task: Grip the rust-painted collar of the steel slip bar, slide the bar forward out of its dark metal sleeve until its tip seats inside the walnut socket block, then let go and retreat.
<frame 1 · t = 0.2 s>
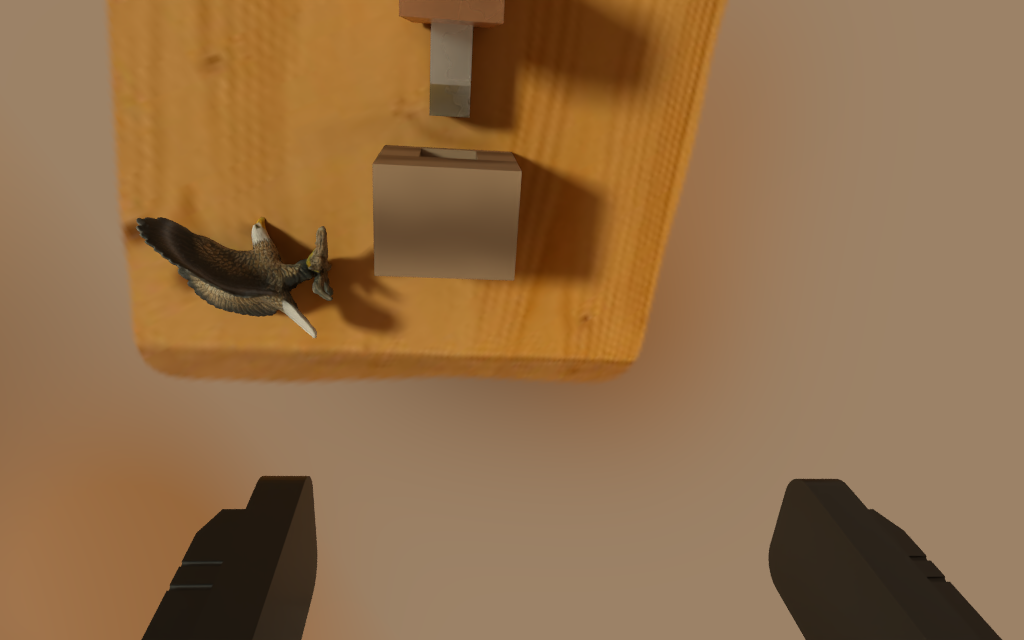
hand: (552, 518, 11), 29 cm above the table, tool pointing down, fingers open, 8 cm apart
socket block: (447, 197, 37), on the table
eagle figurine: (260, 252, 38), on the table
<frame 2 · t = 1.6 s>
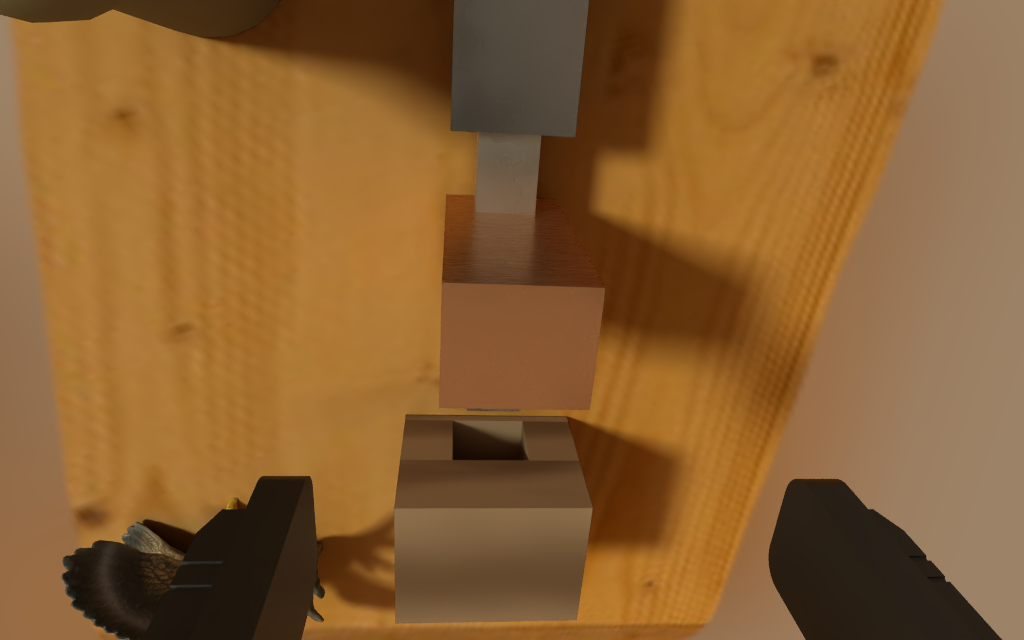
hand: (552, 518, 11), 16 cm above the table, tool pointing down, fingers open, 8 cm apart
socket block: (484, 467, 30), on the table
eagle figurine: (233, 532, 30), on the table
slip bar: (513, 191, 19), point 5 cm above the table, slide at 0.0 cm
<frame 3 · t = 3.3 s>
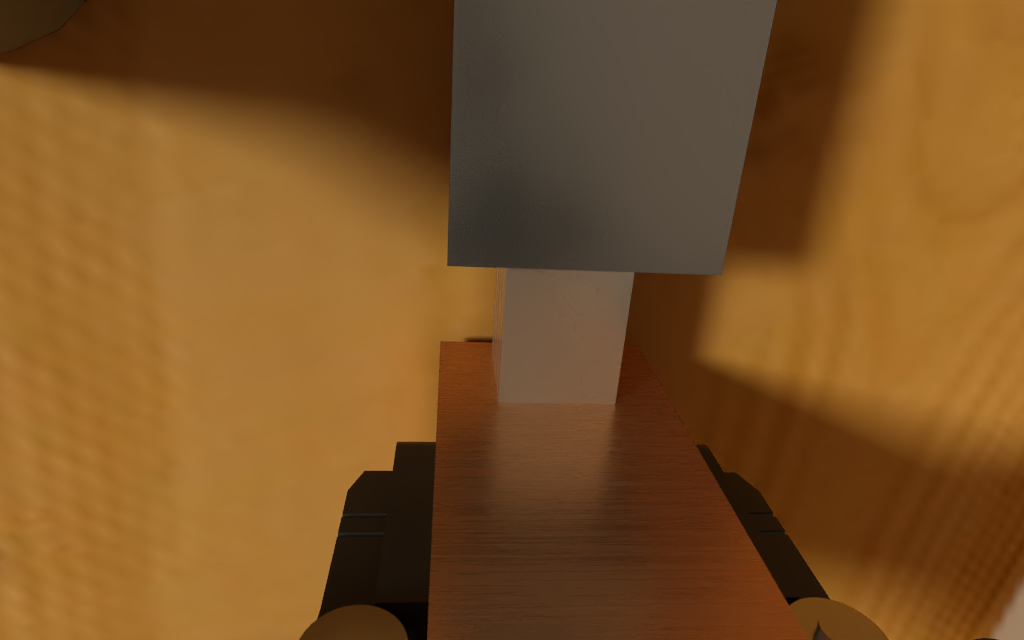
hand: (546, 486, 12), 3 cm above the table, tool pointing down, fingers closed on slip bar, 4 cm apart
slip bar: (590, 407, 9), point 5 cm above the table, slide at 0.0 cm, touching gripper
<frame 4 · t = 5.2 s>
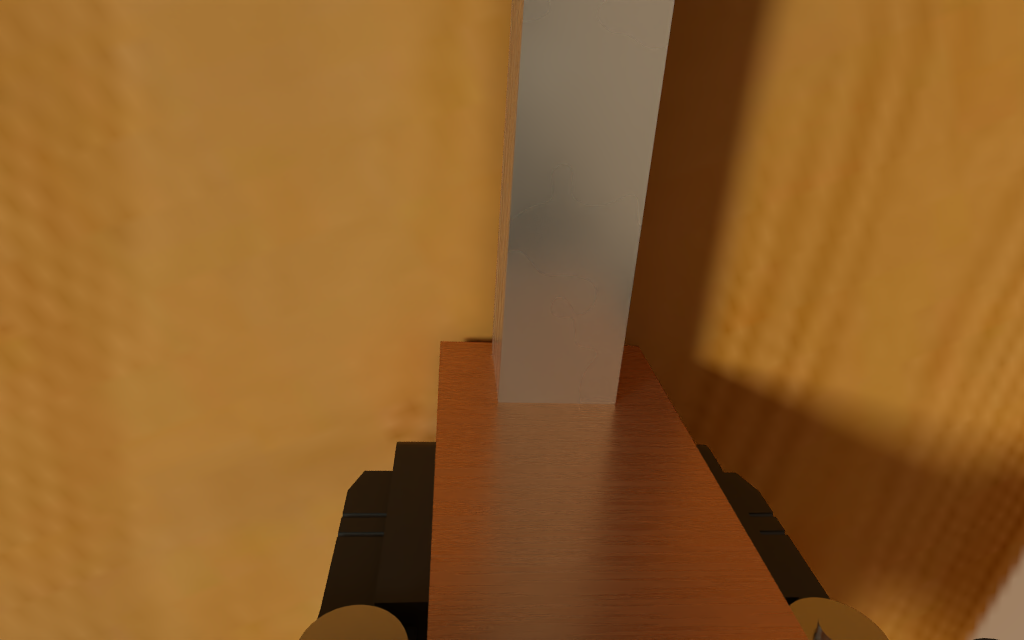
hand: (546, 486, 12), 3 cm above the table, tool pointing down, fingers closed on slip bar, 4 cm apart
slip bar: (590, 407, 9), point 5 cm above the table, slide at 5.5 cm, touching gripper
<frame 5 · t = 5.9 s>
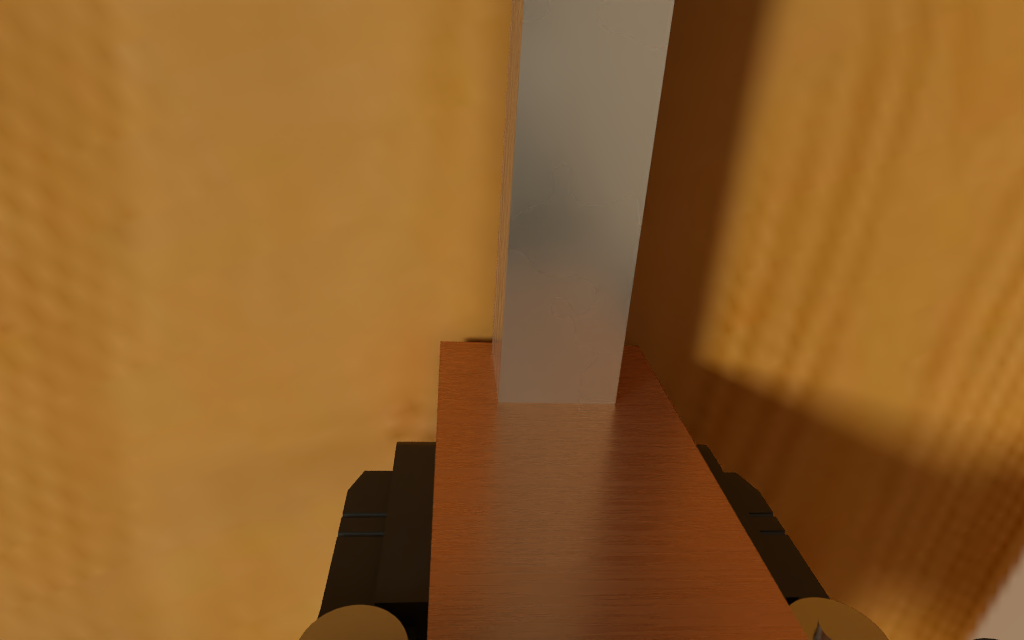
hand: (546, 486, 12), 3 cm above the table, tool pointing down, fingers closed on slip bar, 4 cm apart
slip bar: (590, 408, 9), point 5 cm above the table, slide at 5.5 cm, touching gripper
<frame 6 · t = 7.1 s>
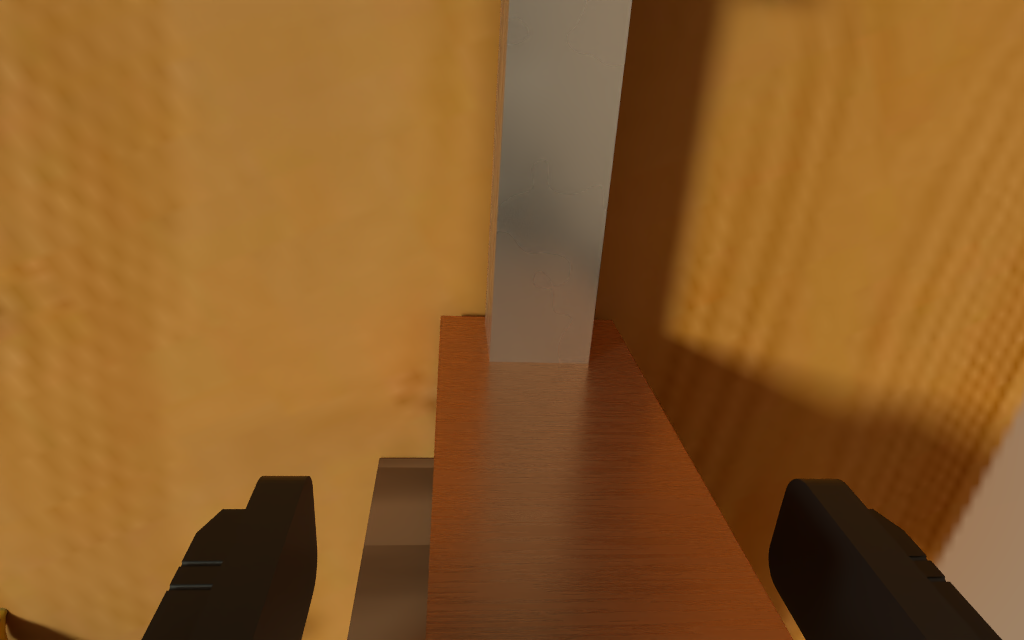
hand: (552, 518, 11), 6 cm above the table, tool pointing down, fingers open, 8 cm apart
socket block: (507, 541, 18), on the table
slip bar: (561, 354, 11), point 5 cm above the table, slide at 5.5 cm
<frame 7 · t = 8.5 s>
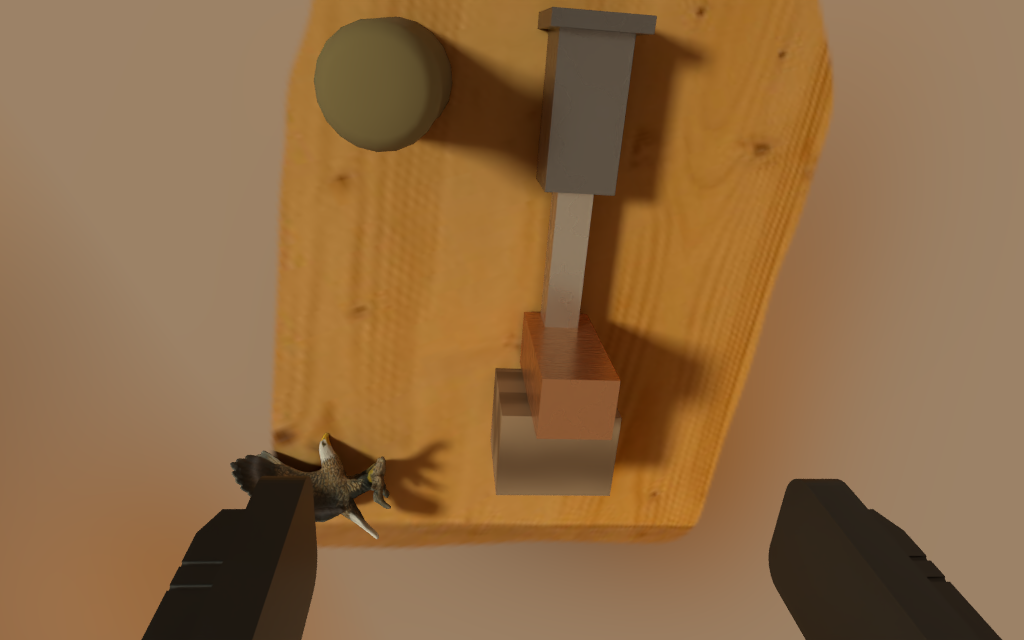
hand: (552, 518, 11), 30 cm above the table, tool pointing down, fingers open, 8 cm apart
socket block: (544, 406, 44), on the table
sleeve: (575, 109, 37), on the table
eagle figurine: (325, 458, 45), on the table
slip bar: (569, 322, 37), point 5 cm above the table, slide at 5.5 cm
olive rounded upright piece: (397, 77, 36), on the table
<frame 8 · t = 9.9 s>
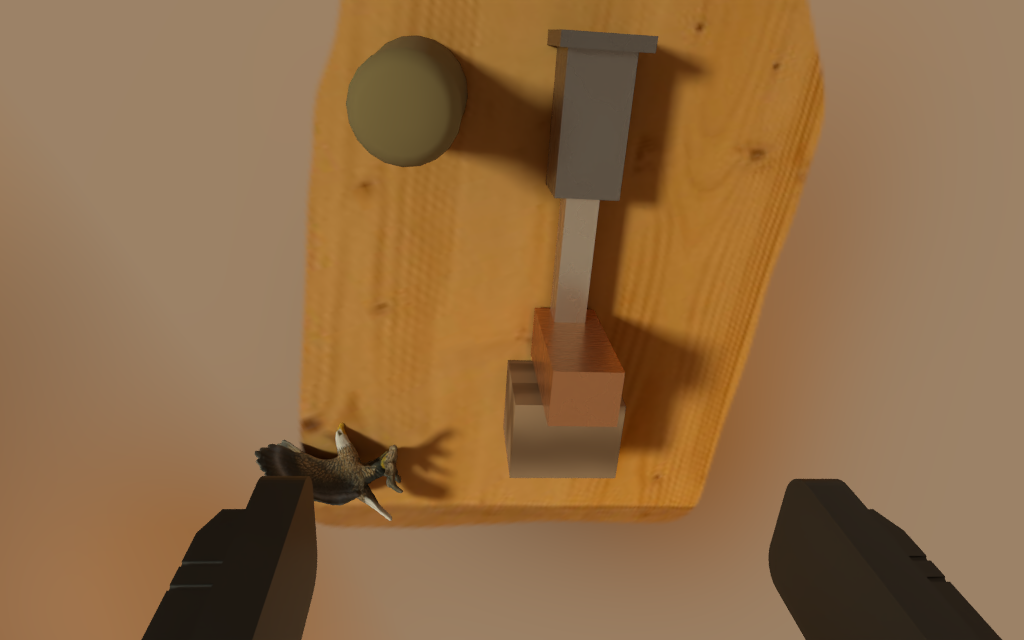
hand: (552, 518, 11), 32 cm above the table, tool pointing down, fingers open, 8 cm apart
socket block: (553, 395, 47), on the table
sleeve: (582, 119, 40), on the table
eagle figurine: (340, 446, 48), on the table
slip bar: (577, 318, 39), point 5 cm above the table, slide at 5.5 cm
olive rounded upright piece: (416, 91, 38), on the table
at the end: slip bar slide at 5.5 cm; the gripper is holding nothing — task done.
